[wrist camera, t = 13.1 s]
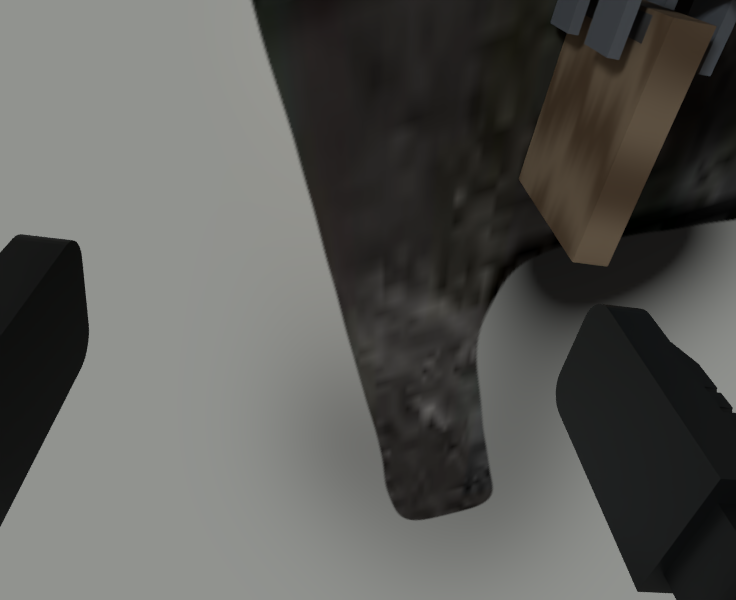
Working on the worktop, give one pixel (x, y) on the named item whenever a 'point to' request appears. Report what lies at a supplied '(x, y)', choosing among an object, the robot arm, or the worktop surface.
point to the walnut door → (609, 127)
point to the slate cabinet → (618, 11)
